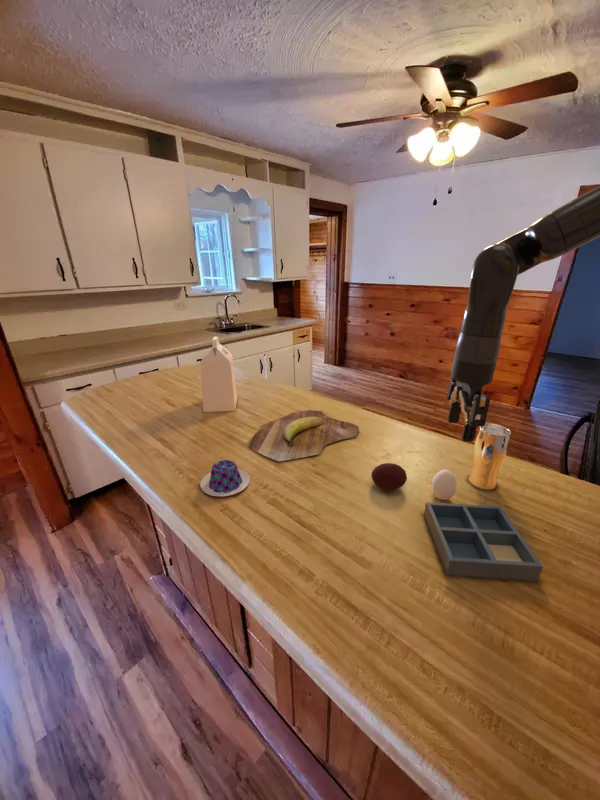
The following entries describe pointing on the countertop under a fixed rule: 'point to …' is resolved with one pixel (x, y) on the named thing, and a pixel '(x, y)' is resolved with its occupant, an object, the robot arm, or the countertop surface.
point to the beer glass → (489, 454)
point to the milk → (218, 379)
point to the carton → (480, 542)
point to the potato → (389, 476)
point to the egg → (444, 484)
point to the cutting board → (300, 435)
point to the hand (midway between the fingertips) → (459, 430)
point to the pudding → (224, 479)
